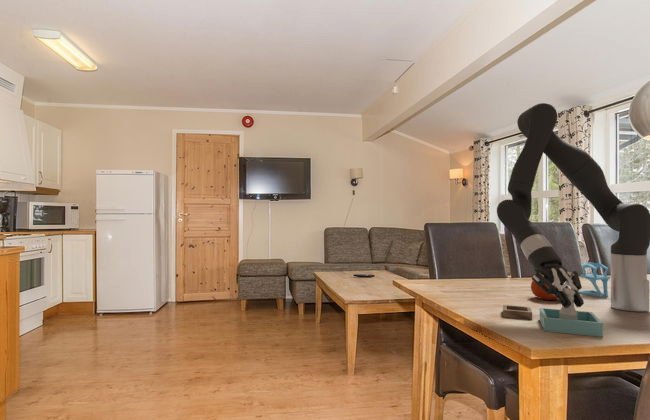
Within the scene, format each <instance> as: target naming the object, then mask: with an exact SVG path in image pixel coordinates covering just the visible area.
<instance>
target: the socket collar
mask: <svg viewBox="0 0 650 420" xmlns="http://www.w3.org/2000/svg"><path fill="white" fill-rule="evenodd" d="M502 317H503V318H512V319H522V320H523V319H524V320H533V311H532V308H531V306H523V305H512V304H511V305H510V304H509V305H508V304H502Z"/></svg>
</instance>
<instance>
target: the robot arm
mask: <svg viewBox="0 0 650 420" xmlns="http://www.w3.org/2000/svg"><path fill="white" fill-rule="evenodd" d="M557 111H558V110H557V109H556V107H555V106H553V104H551V103H548V102H540V103H537V104H534V105H533V106H530V107H529V108H528V109H526V110H525V111H523V112H522V113H520V115H518V117H517V127H518V129H519V131H520V133H521V134H522V135H523V136H524V137H525V138H526V140H525V143H524V145H523V148H522V150H521V151H520V153H519V155H518V157H517V159H516V161H515V163H514V165H513V167H512V169H511V173H510V177H509V182H508V185H507V192H508V193H509V194H510V196H511V199H504V200H502V201H500V202H499V203H498V204H497V207H496V214H497V219H499V221H500V223H502V225H503V226H504V227H505V228H506V229H507V231H509V233H511V235H513V237H514V239H515V241H516V242H517V244H518V245H519V247H520V248H521V250H522V253H523V255H524V256H525V258H526V260H527V261H528V263H529V265H530V266H531V268H532V269H533V271H534V273H535V274H534V275H533V276H532V277H531V280H532V281H534V282H535V283H536V284H537V285H538V286H540V287H541V288H542V289H543V290H544V291H545V292H546V293H547V294H553V295H554V296H556V297H557V298H558V299H557V300H558V301H559V303H560V304H561V305H563V306H564V308H568V307H569V306H570V305H571V301H570V300H569V298H568V297H567V295H566V294H565V292H562V289H563V288H566V289H567V288H570V289H571V288H572V289H574V292H575V294H574V296H573V297H574V306H575V308H581V307H582V306H583V305H584V304H585V303H584V299H583V298H582V296H581V294H579V293H578V291H581V289H582V282H581V280H580V277H579V276H580V275H579V273H578V272H577V271H575V270H574V271H572V272H571V271H568V270H567V268H565V267H564V266H563V265H562V263H563V262H562V261H563V260H562V258H561V257H560V255H559V254H558V252H556V250H555V248H554V246H553V245H552V244H551V242H550V241H549V240H548V239H547V238H546V237H545V235H543V233H542V232H541V230H540V229H539V227H538V226H537V225H536V223H534V222H533V221H531V220H530V218H531V215H532V202H533V201H532V199H533V197H532V190H533V187H534V183H535V181H536V180H535V179H536V175H537V173H538V170H539V169H538V168H539V165H540V163H541V160H542V156H543V154H544V155H545V156H546V157H547V158H548V159H549V160H550V161H551V162H552V163H553V164H554V165H555V166H556V167H557V169H558V170H560V172H561V173H562V174H563V175H564V177H566V179H567V180H568V181H569V182H570V183H571V184H572V185H573V186H574V187H575V188H576V189H577V190H578V191H579V192H580V193H581V195H583V197H585V199H586V200H587V201H588V202H589V203H590V204H591V205H592V206H593V208H594V209H595V210H596V212H597V213H598V214H599V216H600V217H601V219H602V220H603V221H604V222H605V224H606V225H607V227H609V228H610V229H611V230H613V231H616V232H618V238H617V240H616V241H615V242H614V243H612V244H611V246H610V307H611V308H613V309H616V310H623V311H627V312H628V311H629V312H650V280H649V279H648V278H647V277H648V265H647V264H648V262H647V261H648V258H647V257H648V249H649V247H650V211H649V209H648V208H647V207H646V206H645V205H643V204H641V203H635V202H634V203H624V202H623V201H622V200H620V198H618V196H616V195H615V193H613V192H612V190H611V189H610V187H609V185H608V182H607V178H606V176H605V174H604V170H603V169H602V168H601V166H600V165H599V164H598V162H597V161H596V160H595V159H594V158H593V157H592V156H591V155H590V154H589V153H588V152H587V151H585V150H583V149H582V148H580V147H578V146H576V145H575V144H572V143H570V142H568V141H566V140H564V139H563V138H561V137H560V136H559V135H558V134H556V132H555V131H554V128H555V127H556V124H557V122H558V113H557ZM545 284H546V285H547V286H548V287H549V288H547V287H546V286H545Z"/></svg>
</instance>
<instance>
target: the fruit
mask: <svg viewBox="0 0 650 420" xmlns="http://www.w3.org/2000/svg"><path fill="white" fill-rule="evenodd" d="M545 286H546V287H547V288H549V287H548V286H547V285H546V284H545ZM530 289H531V293H532V294H533V295H534V297H536V298H538V299H540V300H544V301H545V300H546V301H554V300H558V298H557V297H556V296H554V295H553V294H547V293H546V292H545V291H544V290H543V289H542V288H541V287H540V286H538V285H537V284H536V283H535V282H534V281H533V280H532V281H531V283H530ZM562 290H563V289H562Z"/></svg>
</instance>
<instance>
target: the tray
mask: <svg viewBox="0 0 650 420" xmlns="http://www.w3.org/2000/svg"><path fill="white" fill-rule="evenodd" d="M560 310H561V308H560V309H559V308H549V307H547V308H546V307H539V322H540V323H541V326H542V329H543V331H544V332H552V333H559V334H561V333H562V334H570V335H572V334H573V335H580V336H590V337H600V338H603V337H604V323H603V321H601V320H600V319H599V318H598V317H597V315H595V313H594V312H593V311H585V310H584V311H581V310H576V312H577V314H578V316H576V317H577V318H578V319H577V320H569V319H560V318H559V315H560V314H559V311H560Z"/></svg>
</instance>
